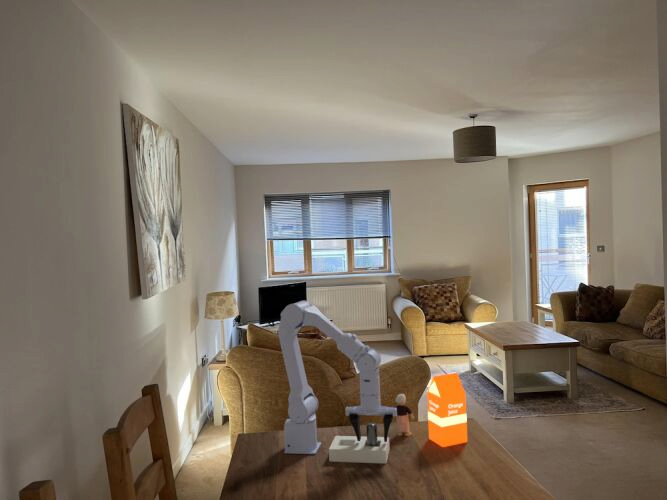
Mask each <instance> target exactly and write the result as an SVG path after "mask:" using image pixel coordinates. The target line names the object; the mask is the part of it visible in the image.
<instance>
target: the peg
mask: <svg viewBox="0 0 667 500" xmlns="http://www.w3.org/2000/svg"><path fill="white" fill-rule="evenodd" d="M366 437H367V446H372V447H378V439H377V437H378V424H377V423H376V422H368V423H366Z"/></svg>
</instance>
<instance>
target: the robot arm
mask: <svg viewBox="0 0 667 500" xmlns="http://www.w3.org/2000/svg"><path fill="white" fill-rule="evenodd" d="M303 326H304V327H305V326H306V327H307V326H309V327H310V326H311V327H315V328H317V329H318V330H319V331H321V332H322V333H323V334H325V335H326V336H327V337H329V338H330V339H332V340H333V341H334V342H335V343H336V348H337V349H338V350H339V351H340V352H341V353H342V354H344V355H345V357H347V358H348V359H350V361H352V362H353V363H355V367H356V369H357V371H358V372H359V393H360V394H359V397H360V405H358V406H357V405H355V406H346V407H345V416H349V418H348V420H349V421H348V422H349V423H350V424H351V426H352V427H353V431H354V433H355V435H356V436H357V441H360V439H361V436H362V435H361V433H362V432H361V416H383V418H382V420H383V437H384V442H387V437H388V436H389V434H388V433H389V430H390V427H391V425H392V421H393V419H394V418H395V417H396V418H397V408H394V407H392V406H391V407H390V406H383V405H382V403H381V401H382V400H381V399H382V398H381V381H380V380H381V379H380V378H381V377H380V367H379V366H380V364H381V360H382V359H381V354H380V353H379V352H378V351H377V349H374V348H370V346H369V345H365V344H364V343H363V342H362V341H361V340H360V339H359V338H358V336H357V335H356V334H355V333H353V334H352V333H350V332H343V331H342V330H341V329H340V328H339V327H338V326H336V325H335V324H334V323H333V322H332V321H331V320H330V319H329V318H328V317H326V316H325V314H324V313H322V312H321V311H320V310H319V308H318V307H317V306H316V305H313V304H312V303H311V302H310V301H308V300H300V301H298V302H295V303H290V304H288V305H286V306H285V308H284V309H283V310H282V311H281V312H280V321H279V325H278V329H277V333H278V335H277V336H278V339H279V344H280V348H281V352H282V357H283V361H284V365H285V370H286V375H287V380H288V383H289V389H290V390H289V395H288V398H287V401H288V408H287V414H288V417H289V418H287V419H286V420H285V422H284V426H283V436H284V438H283V439H284V451H283V452H284V454H295V455H296V454H298V455H302V454H303V455H315V454H317V452H318V450H319V448H320V447H321V445H322V442H319V441H318V433H317V432H318V431H317V430H318V429H317V415H316V412H317V410H318V409H319V399H318V398H317V397H316V396H315V393H314V390H313V388H312V387H311V386H310V385H309V384H308V378H307V374H306V370H305V365H304V361H303V357H302V352H301V348H300V343H299V338H298V334H299V333H298V332H299V331H300V329H301V328H302V327H303Z"/></svg>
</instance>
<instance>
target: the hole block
mask: <svg viewBox="0 0 667 500" xmlns="http://www.w3.org/2000/svg"><path fill="white" fill-rule="evenodd" d="M377 439H378V447H372V446H367V436H362V435H361V439H360V441H357V436H355V435H354V436H352V435H335V437H334V438H333V440H332V442H331V444H330V446H329V448H328V457H329V462H334V463H337V462H338V463H362V464H365V463H366V464H387V462H388V458H389V453H390V437H387V442H384V436H377Z"/></svg>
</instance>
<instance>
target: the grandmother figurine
mask: <svg viewBox="0 0 667 500" xmlns="http://www.w3.org/2000/svg"><path fill="white" fill-rule="evenodd" d="M406 401H407V397H406V395H405V394H404V393H399V394H398V395H397V396H396V398H395V402H396V403H397V404H398V405H396V406H394V407H393V408H397V416H396V430H397V436H398V437H400V436H403V435H404V436H405V437H406V436H407V437H409V436H411V435H412V432H411V431H410V422H409V421H410V420H409V416H410V419H411V420H414V419H415V416H414V414H413V411H412V409H410V407H409V406H406V405H405V404H406Z"/></svg>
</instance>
